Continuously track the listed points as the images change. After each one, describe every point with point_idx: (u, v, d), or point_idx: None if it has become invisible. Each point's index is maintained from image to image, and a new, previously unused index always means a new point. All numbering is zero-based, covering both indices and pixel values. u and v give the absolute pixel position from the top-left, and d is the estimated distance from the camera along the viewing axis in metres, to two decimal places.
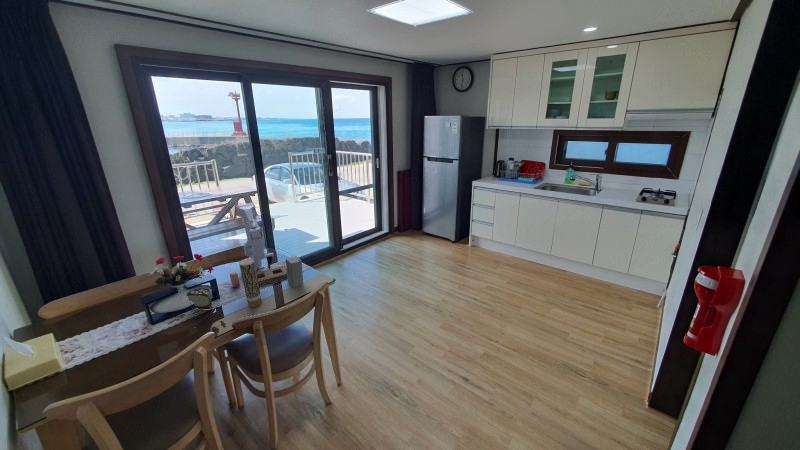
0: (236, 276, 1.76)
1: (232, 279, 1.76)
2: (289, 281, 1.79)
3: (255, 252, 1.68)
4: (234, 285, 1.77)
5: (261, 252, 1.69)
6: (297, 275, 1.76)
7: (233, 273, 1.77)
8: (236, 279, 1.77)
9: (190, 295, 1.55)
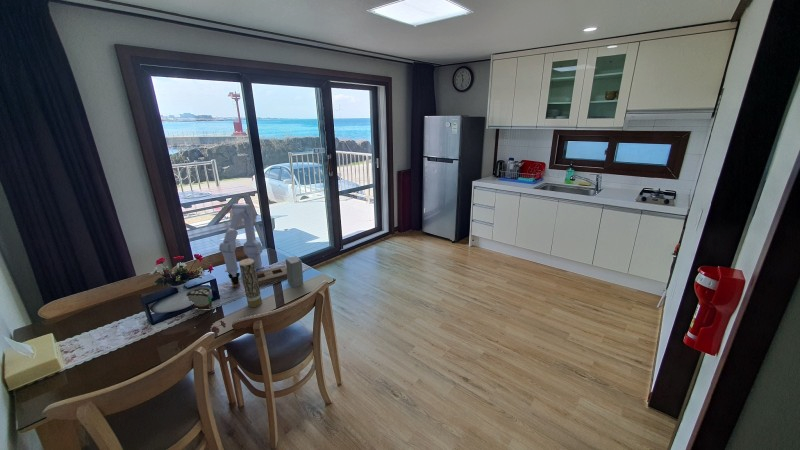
0: None
1: None
2: (289, 281, 1.79)
3: None
4: (234, 285, 1.77)
5: (226, 265, 1.72)
6: (297, 275, 1.76)
7: None
8: None
9: (190, 295, 1.55)
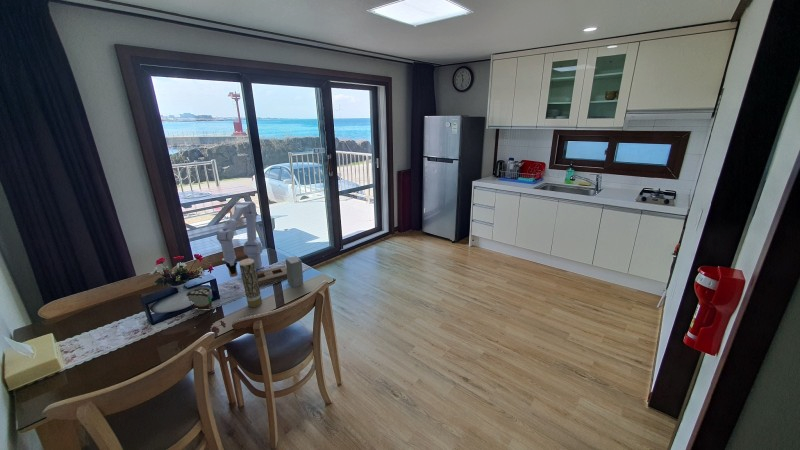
0: None
1: None
2: (289, 281, 1.79)
3: None
4: (232, 274, 1.75)
5: (223, 254, 1.70)
6: (297, 275, 1.76)
7: None
8: None
9: (190, 295, 1.55)
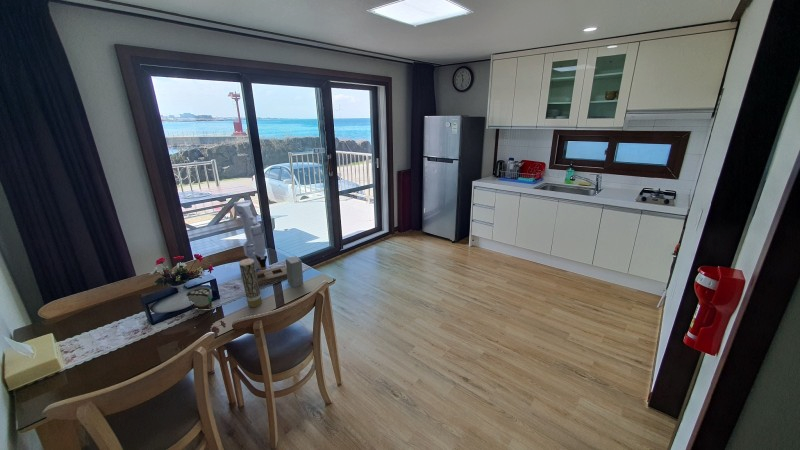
0: None
1: None
2: (289, 281, 1.79)
3: None
4: (261, 268, 1.82)
5: (254, 248, 1.77)
6: (297, 275, 1.76)
7: None
8: None
9: (190, 295, 1.55)
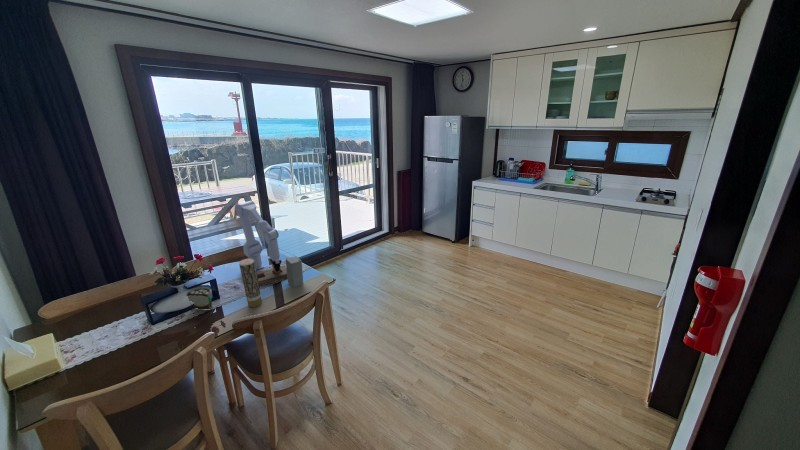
0: None
1: None
2: (289, 281, 1.79)
3: None
4: (275, 272, 1.86)
5: (269, 253, 1.82)
6: (297, 275, 1.76)
7: None
8: None
9: (190, 295, 1.55)
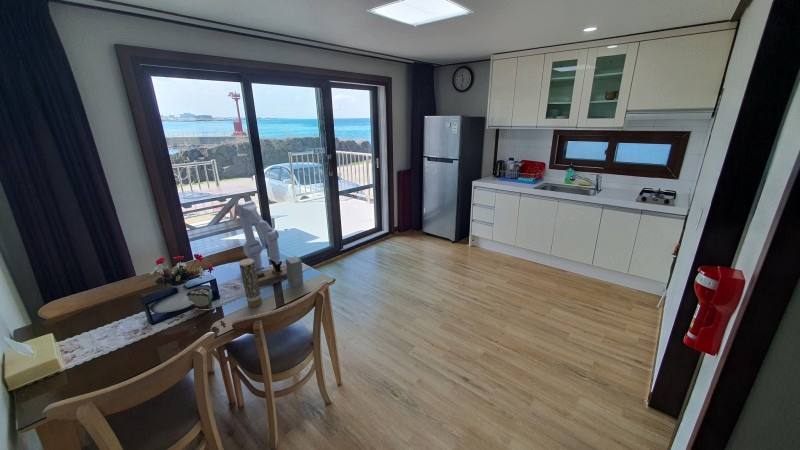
0: None
1: None
2: (289, 281, 1.79)
3: None
4: None
5: (269, 253, 1.82)
6: (297, 275, 1.76)
7: None
8: None
9: (190, 295, 1.55)
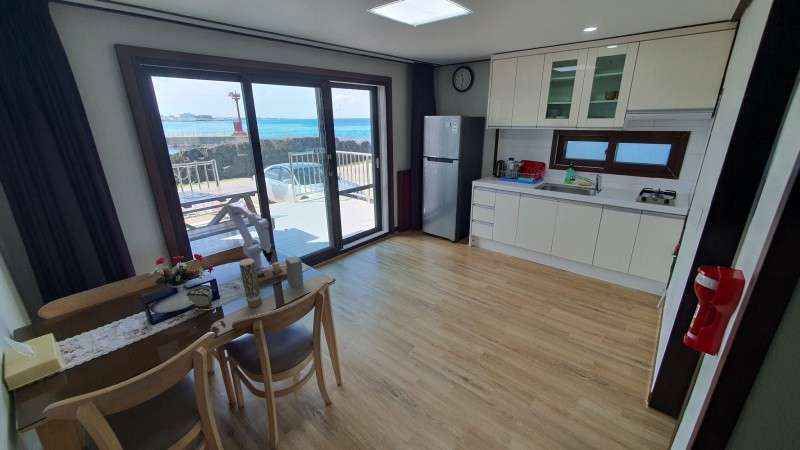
0: (278, 266, 1.86)
1: (274, 269, 1.86)
2: (289, 281, 1.79)
3: None
4: None
5: (260, 242, 1.84)
6: (297, 275, 1.76)
7: (275, 263, 1.87)
8: (278, 269, 1.87)
9: (190, 295, 1.55)
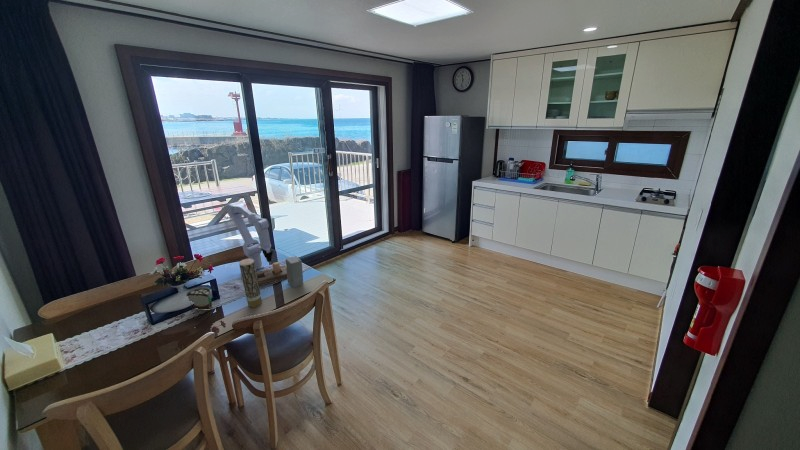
0: (278, 266, 1.86)
1: (274, 269, 1.86)
2: (289, 281, 1.79)
3: None
4: None
5: (260, 242, 1.84)
6: (297, 275, 1.76)
7: (275, 263, 1.87)
8: (278, 269, 1.87)
9: (190, 295, 1.55)
